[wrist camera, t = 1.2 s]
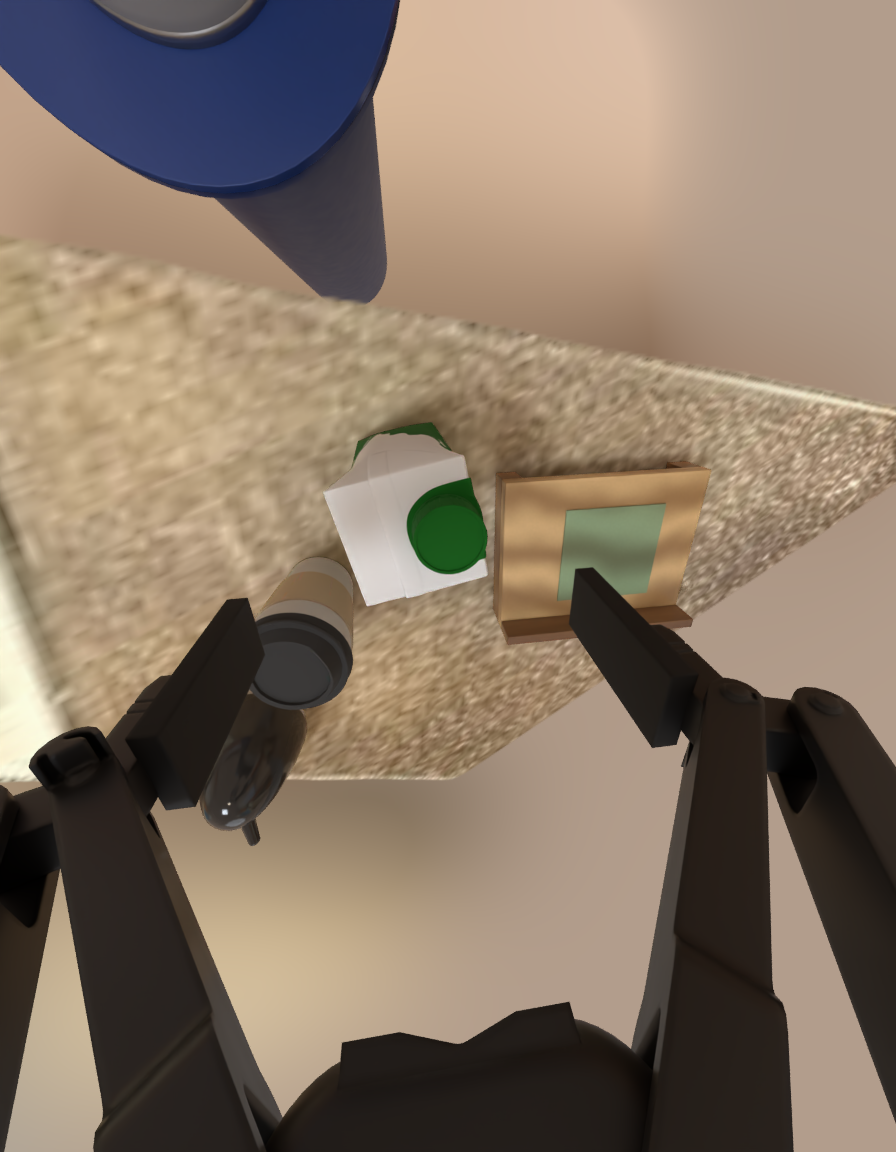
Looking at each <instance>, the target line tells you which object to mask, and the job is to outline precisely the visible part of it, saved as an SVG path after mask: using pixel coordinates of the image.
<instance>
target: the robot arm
mask: <svg viewBox="0 0 896 1152" xmlns="http://www.w3.org/2000/svg"><path fill="white" fill-rule="evenodd" d="M89 1H90V2H91V3H92V4H93V5H95V6H96V7H97V8H98V9H99V10H101V11H102V12H103V13H104V14H105V15H107V16H108V17H109V18H111V19H112V20H113V21H115V22H116V23H118V24H119V25H120V26H122V27H124V28H125V29H127V30H129V31H131V32H132V33H134V34H136V35H138V36H140V37H142V38H144V39H146V40H149V41H151V42H154V43H157V44H160V45H163V46H168V47H172V48H179V49H203V48H208V47H213V46H216V45H218V44H221V43H224V42H226V41H228V40H230V39H231V38H233V37H235V36H236V35H238V34H239V33H240V32H242V31H243V30H244V29H246V28H247V27H248V26H249V25H250V24H251V23H252V22H253V21H254V19H255V18H256V17H257V16H258V14H259V13H260V12H261V10H262V9H263V7H264V6H265V4H266V2H267V1H268V0H89ZM569 625H570V627H571V628H572V630H573V631H574V633H575V634H576V636H577V637H578V639H579V640H580V642H581V643H582V645H583V646H584V648H585V649H586V650H587V652H588V653H589V655H590V656H591V658H592V659H593V661H594V662H595V664H596V665H597V667H598V668H599V670H600V671H601V673H602V674H603V676H604V677H605V679H606V680H607V682H608V683H609V684H610V686H611V688H612V689H613V691H614V692H615V694H616V695H617V696H618V698H619V699H620V701H621V702H622V704H623V705H624V707H625V708H626V710H627V711H628V713H629V714H630V716H631V717H632V719H633V720H634V722H635V723H636V725H637V726H638V728H639V729H640V731H641V732H642V734H643V735H644V736H645V738H646V739H647V741H648V742H649V744H650V745H651V747H652V748H655V747H663V746H670V745H676V744H677V741H678V738H679V735H680V732H681V731H682V732H683V733H684V734H685V736H686V737H687V738H688V739H689V744H688V747H687V750H686V753H685V756H684V759H683V762H682V765H681V767H684V768H683V774H682V780H681V786H680V791H679V797H678V803H677V808H676V814H675V820H674V825H673V831H672V838H671V843H670V848H669V854H668V860H667V866H666V871H665V877H664V883H663V889H662V894H661V900H660V906H659V911H658V917H657V923H656V929H655V934H654V940H653V946H652V951H651V957H650V963H649V968H648V974H647V980H646V986H645V992H644V996H643V1000H642V1004H641V1008H640V1012H639V1016H638V1019H637V1024H636V1028H635V1032H634V1037H633V1042H632V1047H631V1049H630V1048H629V1047H628V1046H627V1045H626V1044H624V1043H623V1042H622V1041H620V1040H619V1039H617V1038H616V1037H615V1036H613V1035H612V1034H610V1033H608V1032H606V1031H604V1030H603V1029H601V1028H599V1027H597V1026H595V1025H592V1024H589V1023H587V1022H584V1021H582V1020H577V1019H574V1017H573V1013H572V1009H571V1006H570V1003H569V1002H566V1003H560V1004H555V1005H549V1006H543V1007H538V1008H532V1009H527V1010H522V1011H516V1012H514V1013H512V1014H511V1015H509V1016H508V1017H506V1018H504V1019H502V1020H501V1021H499V1022H498V1023H496V1024H494V1025H493V1026H491V1027H489V1028H488V1029H486V1030H484V1031H483V1032H481V1033H480V1034H478V1035H477V1036H475V1037H473V1038H471V1039H470V1040H468V1041H466V1042H464V1043H461V1044H453V1043H449V1042H443V1041H439V1040H434V1039H430V1038H425V1037H419V1036H415V1035H410V1034H405V1033H401V1032H398V1033H393V1034H387V1035H382V1036H376V1037H371V1038H365V1039H360V1040H354V1041H349V1042H343V1043H342V1050H341V1061H340V1062H339V1063H337V1064H336V1065H334V1066H332V1067H331V1068H330V1069H328V1070H327V1071H326V1072H324V1073H323V1074H322V1075H321V1076H319V1077H318V1078H317V1079H316V1080H315V1081H314V1082H313V1083H312V1084H311V1085H310V1086H309V1087H308V1088H307V1089H306V1090H305V1091H304V1092H303V1093H302V1094H301V1095H300V1096H299V1098H298V1099H297V1100H296V1101H295V1103H294V1104H293V1105H292V1106H291V1107H290V1108H289V1110H288V1111H287V1113H286V1114H285V1116H284V1117H282V1115H281V1113H280V1110H279V1108H278V1106H277V1104H276V1101H275V1099H274V1097H273V1095H272V1093H271V1091H270V1089H269V1087H268V1085H267V1083H266V1081H265V1080H264V1078H263V1076H262V1074H261V1072H260V1070H259V1068H258V1066H257V1063H256V1061H255V1059H254V1057H253V1054H252V1052H251V1049H250V1047H249V1045H248V1042H247V1040H246V1037H245V1035H244V1033H243V1030H242V1028H241V1025H240V1023H239V1020H238V1018H237V1016H236V1013H235V1011H234V1009H233V1006H232V1004H231V1001H230V999H229V996H228V994H227V992H226V989H225V987H224V984H223V982H222V980H221V977H220V975H219V973H218V970H217V968H216V965H215V963H214V960H213V958H212V956H211V953H210V951H209V949H208V946H207V943H206V941H205V939H204V936H203V934H202V931H201V929H200V927H199V924H198V922H197V919H196V917H195V915H194V912H193V910H192V907H191V905H190V903H189V901H188V898H187V896H186V893H185V891H184V888H183V886H182V883H181V881H180V879H179V876H178V874H177V871H176V869H175V867H174V864H173V862H172V859H171V857H170V855H169V852H168V850H167V847H166V845H165V842H164V840H163V838H162V835H161V833H160V830H159V828H158V826H157V823H156V821H155V818H154V817H153V815H152V814H151V812H150V810H151V808H152V807H153V805H154V803H155V801H156V800H157V798H158V797H159V799H160V801H161V802H162V804H163V806H164V808H165V809H166V810H172V809H180V808H188V807H195V806H196V804H197V802H198V800H199V798H200V796H201V793H202V791H203V789H204V787H205V785H206V783H207V780H208V778H209V776H210V774H211V772H212V769H213V767H214V765H215V763H216V761H217V759H218V756H219V754H220V752H221V750H222V748H223V746H224V743H225V741H226V739H227V737H228V735H229V732H230V730H231V728H232V726H233V724H234V722H235V719H236V717H237V715H238V713H239V711H240V708H241V706H242V704H243V702H244V700H245V698H246V695H247V693H248V691H249V689H250V687H251V685H252V682H253V680H254V678H255V676H256V674H257V671H258V669H259V667H260V665H261V663H262V661H263V658H264V656H265V652H264V649H263V646H262V643H261V639H260V636H259V633H258V630H257V626H256V623H255V620H254V617H253V614H252V610H251V607H250V604H249V601H248V598H240V599H229V600H226V602H225V603H224V604H223V606H222V607H221V609H220V610H219V611H218V613H217V614H216V615H215V617H214V618H213V619H212V621H211V622H210V624H209V625H208V626H207V628H206V629H205V630H204V632H203V633H202V634H201V636H200V637H199V639H198V640H197V641H196V643H195V644H194V645H193V647H192V648H191V649H190V651H189V652H188V654H187V655H186V656H185V658H184V659H183V660H182V662H181V663H180V664H179V666H178V667H177V669H176V670H175V671H174V673H173V674H172V675H168V676H160V677H159V678H158V679H157V680H155V681H154V682H153V683H151V684H150V685H149V686H147V687H146V688H145V689H144V690H143V692H142V693H141V694H140V695H139V697H138V698H137V699H136V701H135V704H132V706H131V707H130V708H129V709H128V711H127V714H126V715H124V716H123V717H122V718H121V720H120V721H119V722H118V723H117V725H116V726H115V727H114V728H113V730H112V731H111V732H110V734H109V735H108V736H107V737H106V739H105V737H104V735H103V734H102V732H101V731H100V730H99V729H98V728H97V727H89V726H87V727H82V728H76V729H74V730H71V731H68V732H66V733H63V734H61V735H59V736H58V737H56V738H54V739H52V740H51V741H49V742H48V743H46V744H45V745H44V746H43V747H41V748H40V749H39V750H38V751H37V752H36V753H35V755H34V756H33V757H32V758H31V760H30V764H29V768H30V770H31V771H32V772H33V774H34V775H35V776H36V777H37V779H38V780H39V781H40V782H41V783H42V785H43V786H41V787H38V788H35V789H32V790H29V791H26V792H24V793H21V794H18V795H15V796H13V795H12V794H11V793H10V792H9V791H8V790H7V789H6V788H5V787H3V786H2V785H0V1152H4V1149H5V1144H6V1139H7V1134H8V1129H9V1124H10V1119H11V1114H12V1109H13V1104H14V1099H15V1094H16V1089H17V1084H18V1079H19V1074H20V1069H21V1064H22V1059H23V1053H24V1048H25V1043H26V1038H27V1033H28V1028H29V1023H30V1018H31V1013H32V1008H33V1003H34V998H35V993H36V988H37V983H38V978H39V973H40V967H41V963H42V957H43V952H44V947H45V942H46V937H47V932H48V927H49V922H50V917H51V912H52V907H53V902H54V897H55V892H56V886H57V881H58V877H59V871H60V869H61V873H62V878H63V884H64V889H65V895H66V901H67V906H68V912H69V918H70V924H71V929H72V934H73V940H74V946H75V952H76V957H77V963H78V969H79V974H80V980H81V986H82V991H83V996H84V1002H85V1008H86V1013H87V1019H88V1025H89V1031H90V1036H91V1041H92V1047H93V1053H94V1059H95V1065H96V1070H97V1076H98V1081H99V1087H100V1092H101V1098H102V1106H103V1118H102V1122H101V1123H100V1125H99V1127H98V1128H97V1130H96V1132H95V1138H94V1146H93V1149H94V1152H794V1150H793V1130H792V1108H791V1087H790V1065H789V1044H788V1029H787V1019H786V1013H785V1010H784V1006H783V1003H782V1002H781V1001H780V1000H779V999H778V998H777V997H776V996H775V993H774V990H773V984H772V983H773V982H772V954H771V913H770V879H769V878H770V877H769V840H768V839H769V835H768V796H767V774H768V777H769V779H770V782H771V785H772V787H773V790H774V793H775V796H776V798H777V801H778V803H779V807H780V809H781V812H782V815H783V817H784V820H785V823H786V826H787V828H788V831H789V833H790V837H791V839H792V842H793V845H794V847H795V850H796V853H797V856H798V858H799V861H800V864H801V867H802V869H803V872H804V875H805V877H806V880H807V883H808V886H809V888H810V891H811V894H812V896H813V899H814V902H815V904H816V907H817V910H818V913H819V915H820V918H821V921H822V923H823V926H824V929H825V932H826V934H827V937H828V940H829V943H830V945H831V948H832V951H833V954H834V956H835V959H836V962H837V964H838V967H839V970H840V973H841V975H842V978H843V981H844V983H845V986H846V989H847V991H848V994H849V997H850V1000H851V1003H852V1005H853V1008H854V1011H855V1013H856V1016H857V1019H858V1021H859V1024H860V1027H861V1030H862V1032H863V1035H864V1038H865V1041H866V1043H867V1046H868V1049H869V1052H870V1054H871V1057H872V1059H873V1062H874V1065H875V1068H876V1070H877V1073H878V1076H879V1079H880V1081H881V1084H882V1087H883V1090H884V1092H885V1095H886V1098H887V1100H888V1103H889V1106H890V1109H891V1111H892V1114H893V1117H894V1120H895V1122H896V767H895V765H894V764H893V762H892V761H891V759H890V758H889V756H888V755H887V754H886V752H885V751H884V749H883V748H882V746H881V745H880V743H879V742H878V740H877V739H876V738H875V736H874V735H873V733H872V732H871V730H870V729H869V727H868V726H867V724H866V723H865V721H864V720H863V719H862V717H861V716H860V714H859V713H858V711H857V710H856V709H855V708H854V707H853V706H852V705H851V704H850V703H849V702H847V701H846V700H844V699H843V698H841V697H840V696H838V695H836V694H834V693H831V692H829V691H826V690H821V689H818V688H812V687H803V688H799V689H797V690H796V691H795V692H794V694H793V696H792V698H791V700H786V699H778V698H769V697H763V696H761V694H760V693H759V692H758V691H757V690H756V689H754V688H752V687H751V686H749V685H748V684H746V683H743V682H741V681H738V680H735V679H730V678H723V677H722V676H720V675H719V674H718V673H717V672H716V671H715V670H714V669H713V668H712V667H711V666H710V665H709V664H708V663H707V662H706V661H705V660H704V659H702V658H701V657H700V656H699V655H698V654H697V653H696V652H694V651H693V649H692V648H691V647H690V646H689V645H688V644H685V641H684V640H683V639H681V638H680V637H679V636H678V635H677V634H676V633H675V632H674V631H672V630H670V629H668V628H666V627H664V626H663V625H661V624H657V625H650V624H649V623H648V622H647V621H646V620H645V619H644V618H643V617H642V616H641V615H640V614H639V613H638V612H637V611H636V610H635V609H634V608H633V607H632V606H631V605H630V604H629V603H628V602H627V601H626V600H625V599H624V598H623V597H622V596H621V595H620V594H619V593H618V592H617V591H616V590H615V589H614V588H613V587H612V586H611V585H610V584H609V583H608V582H607V581H606V580H605V579H604V578H603V577H602V576H601V575H600V574H599V573H598V572H597V571H596V570H595V569H594V568H593V567H589V568H578V569H575V575H574V584H573V592H572V601H571V609H570V618H569Z"/></svg>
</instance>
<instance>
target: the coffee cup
mask: <svg viewBox="0 0 896 1152" xmlns="http://www.w3.org/2000/svg"><path fill="white" fill-rule="evenodd" d="M353 610H354V607H353V582H352V579H351V577H350V575H349V573H348V572H347V570H346V569H345V568H344V567H343V566H342V565H340V564H339V563H337V562H336V561H334V560H331V559H328V558H323V557H312V558H308V559H305V560H303V561H301V562H299V563H298V564H297V565H296V566H295V567H294V568H293V569H292V571H291V572H290V573H289V575H288V576H287V578H286V579H285V580H283V581H282V582H281V583H280V585H279V586H278V587H277V589H276V590H275V591H274V593H273V594H272V595H271V597H270V598H269V599H268V601H267V602H266V604H265V605H264V606H263V608H262V609H261V610H260V612H259V613H258V614H257V616H256V617H255V618H254V620H255V623H256V626H257V630H258V633H259V636H260V639H261V643H262V646H263V649H264V652H265V656H264V658H263V661H262V663H261V665H260V667H259V669H258V671H257V674H256V676H255V678H254V680H253V682H252V685H251V687H250V689H249V690H250V691H251V692H252V693H253V694H254V695H255V696H256V697H257V698H259V699H260V700H262V701H263V702H265V703H267V704H269V705H271V706H274V707H277V708H281V709H287V710H300V709H306V708H312V707H316V706H319V705H322V704H324V703H326V702H328V701H330V700H331V699H333V698H334V697H336V696H337V695H338V694H339V693H340V692H341V690H342V689H343V688H344V686H345V684H346V682H347V679H348V677H349V675H350V673H351V670H352V665H353V656H352V648H353Z"/></svg>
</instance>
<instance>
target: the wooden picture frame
mask: <svg viewBox="0 0 896 1152" xmlns="http://www.w3.org/2000/svg"><path fill="white" fill-rule="evenodd" d="M710 474H711V470H710V469H707V468H704V467H701V466H699V465H696V464H693V463H690V462H686V461H680V462H667V467H666V469H655V470H639V471H624V472H608V473H592V474H577V475H561V476H546V477H530V478H522V477H520V476H519V475H518V474H517V473H516V472H505V473H496V499H495V549H494V599H493V609H494V612H495V614H496V617H497V619H498V622H499V624H500V627H501V629H502V632H503V634H504V637H505V639H506V642H507V644H508V645H512V644H522V643H532V642H542V641H552V640H562V639H572V638H578V637H577V636H576V634H575V633H574V631H573V630H572V628H571V627H570V625H569V618H570V609H571V601H572V592H573V584H574V575H575V569H578V568H589V567H593V568H594V569H595V570H596V571H597V572H598V573H599V574H600V575H601V576H602V577H603V578H604V579H605V580H606V581H607V582H608V583H609V584H610V585H611V586H612V587H613V588H614V589H615V590H616V591H617V592H618V593H619V594H620V595H621V596H622V597H623V598H624V599H625V600H626V601H627V602H628V603H629V604H630V605H631V606H632V607H633V608H634V609H635V610H636V611H637V612H638V613H639V614H640V615H641V616H642V617H643V618H644V619H645V620H646V621H647V622H648V623H649V624H650V625H657V624H661V625H663V626H664V627H666V628H668V629H673V628H683V627H691V625H692V622H693V619H692V618H691V617H690V616H689V615H688V614H686V613H685V612H684V611H683V610H682V609H681V608H679V607H678V606H677V605H676V602H677V598H678V594H679V591H680V587H681V583H682V579H683V576H684V572H685V568H686V564H687V561H688V557H689V553H690V549H691V545H692V542H693V538H694V534H695V530H696V527H697V523H698V519H699V515H700V512H701V508H702V504H703V500H704V497H705V493H706V489H707V485H708V481H709V478H710Z"/></svg>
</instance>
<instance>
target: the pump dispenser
mask: <svg viewBox="0 0 896 1152" xmlns="http://www.w3.org/2000/svg"><path fill="white" fill-rule="evenodd" d="M306 733H307V722H306V719H305V715H304V711H303V709H300V710H287V709H281V708H277V707H274V706H271V705H269V704H267V703H265V702H263V701H262V700H260V699H259V698H257V697H256V696H255V695H254V694H253V693H252V692H251V691H250V690H249V691H248V693H247V695H246V698H245V700H244V702H243V704H242V706H241V708H240V711H239V713H238V715H237V717H236V719H235V722H234V724H233V726H232V728H231V730H230V732H229V735H228V737H227V739H226V741H225V743H224V746H223V748H222V750H221V752H220V754H219V756H218V759H217V761H216V763H215V765H214V767H213V769H212V772H211V774H210V776H209V778H208V780H207V783H206V785H205V787H204V789H203V791H202V793H201V796H200V798H199V800H200V806H201V810H202V813H203V816H204V818H205V820H206V821H207V823H208V824H210V825H211V826H212V827H214V828H216V829H218V830H223V831H232V830H237V829H239V828H242V831H243V833H244V835H245V837H246V839H247V841H248V844H249V845H250V846H254V845H256V844H257V843H258V842H259V841H260V836H259V831H258V827H257V823H256V819H255V818H256V817H258V816H259V815H260V814H261V813H262V812H263V811H264V810H265V809H266V807H267V806H268V805H269V804H270V802H271V801H272V800H273V799H274V797H275V796H276V794H277V793H278V792H279V790H280V789H281V787H282V785H283V784H284V782H285V781H286V779H287V777H288V776H289V774H290V772H291V770H292V768H293V766H294V764H295V762H296V760H297V758H298V756H299V754H300V751H301V749H302V746H303V744H304V741H305V738H306Z"/></svg>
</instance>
